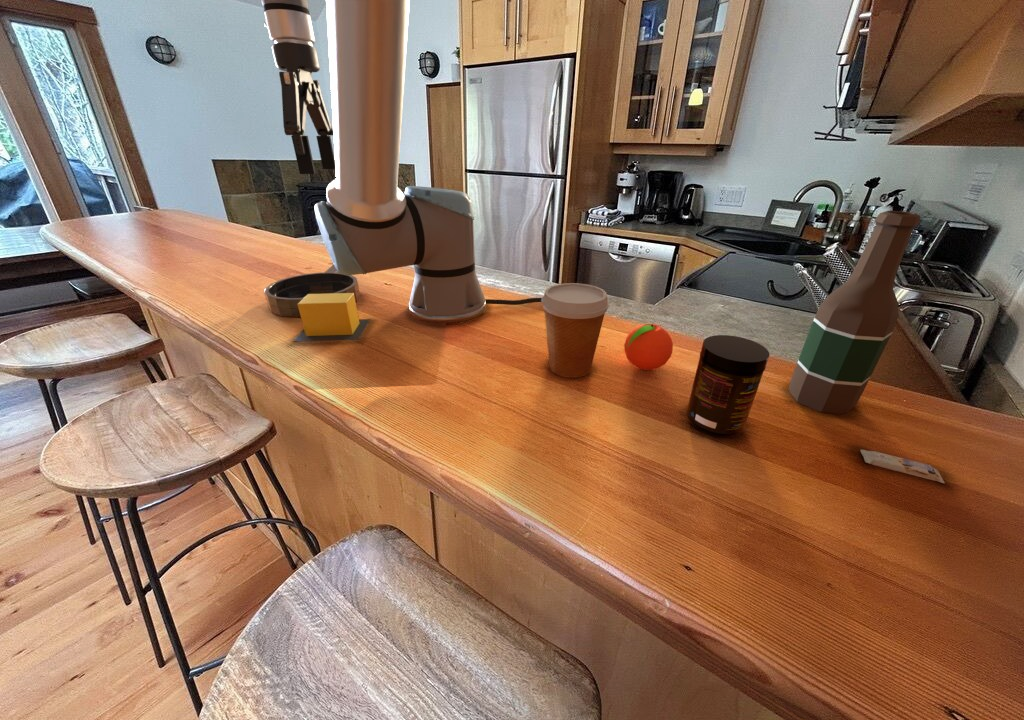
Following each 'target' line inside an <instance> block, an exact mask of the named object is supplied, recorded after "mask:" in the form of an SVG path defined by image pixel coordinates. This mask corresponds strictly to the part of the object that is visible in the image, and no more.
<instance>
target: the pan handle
mask: <svg viewBox="0 0 1024 720" xmlns="http://www.w3.org/2000/svg"><path fill="white" fill-rule="evenodd" d="M324 272H335V273H340V272H339V271H338V270H337V269H336V268H335V266H334V264H333V263H332V265H331V266H330V267H329V268H327V270H326V271H324Z"/></svg>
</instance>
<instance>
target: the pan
mask: <svg viewBox="0 0 1024 720" xmlns="http://www.w3.org/2000/svg"><path fill="white" fill-rule="evenodd" d="M359 287H360V286H359V283H358V278H357V277H356V276H355V275H344V274H342V273H335V272H325V271H324V272H313V273H304V274H298V275H292V276H289V277H286V278H282V279H279V280H276V281H274V282H272V283H270V284H268V286H266V287H265V288H264V290H263V294H264V297H265V301H266V304H267V308H268V310H269V311H270V313H272V314H274V315H277V316H279V317H286V318H287V317H288V318H301V315H300V312H299V308H298V303H299V302H300V301H301V300H302V299H303V298H304V297H305V296H307V295H308V294H329V293H354V297H355V302H356V304H357V303H358V302H359V300H360V299H361V293H360V288H359Z"/></svg>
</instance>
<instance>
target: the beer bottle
mask: <svg viewBox="0 0 1024 720" xmlns="http://www.w3.org/2000/svg"><path fill="white" fill-rule="evenodd" d="M920 220H921V215H920V214H918V213H915V212H911V211H902V210H886V211H883V212H879V213H878V215H877V216H876V217H875V219H874V220H873V222H874V223H875V224H876V225H875V226H874V228H873V231H872V232H871V234H870V237H869V239H868V241H867V243H866V244H865V247H864V249H863V251H862V253H861V255H860V257H859V259H858V261H857V263H856V266H855V267H854V269H853V271H852V272H851V274H850V276H849V277H848V279H847V280H846V282H844V283H842V285H840V286H838V288H836V289H834V290H833V291H832V292H831V293H830V294H829V295H828V296H827V297H826V298H825V299H824V300H823V301H822V302H821V303H820V305H819V306H818V309H817V311H816V312H815V315H814V317H813V320H812V323H811V325H810V328H809V331H808V333H807V336H806V338H805V341H804V344H803V347H802V348H801V351H800V354H799V357H798V359H797V362H796V364H795V367H794V369H793V373H792V375H791V378H790V382H789V385H788V392H789V393H790V395H791V396H792V398H794V400H795V401H796V403H798V404H801V405H803V406H806V407H808V408H810V409H812V410H814V411H816V412H819V413H824V414H837V415H845V414H847V413H849V411H851V410H852V409H853V408H854V407H855V406H856V405H857V404H858V402H859V400H860V399H861V397H862V395H863V393H864V391H865V390H866V387H867V385H868V383H869V381H870V379H871V377H872V375H873V373H874V370H875V369H876V367H877V365H878V363H879V360H880V359H881V356H882V355H883V352H884V351H885V349H886V346H887V344H888V342H889V340H890V338H891V336H892V334H893V332H894V329H895V327H896V324H897V323H898V322H897V321H898V318H899V300H898V298H897V296H896V293H895V290H894V287H895V286H894V285H895V280H896V277H897V273H898V270H899V267H900V265H901V263H902V260H903V257H904V255H905V251H906V249H907V247H908V243H909V241H910V238H911V236H912V233H913V231H914V228H915V227H917V226H919V225H920V222H921V221H920Z"/></svg>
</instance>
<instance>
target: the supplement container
mask: <svg viewBox="0 0 1024 720" xmlns="http://www.w3.org/2000/svg"><path fill="white" fill-rule="evenodd" d="M701 345H702V346H701V349H700V352H699V357H698V358H699V359H698V363H697V367H696V371H695V375H694V379H693V383H692V386H691V389H690V395H689V399H688V404H687V407H686V411H685V416H686V418H687V420H688V422H689V423H690V425H691V426H692V427H693V428H695V430H698V431H699V432H701V433H703V434H705V435H708V436H711V437H716V438H720V439H721V438H723V439H725V438H733V437H736V436H738V435H740V434H741V433H742V432H743V431H744V430H745V428H746V426H747V425H746V424H747V423H748V419H749V416H750V413H751V410H752V407H753V405H754V401H755V399H756V395H757V393H758V390H759V386H760V383H761V381H762V377H763V375H764V372H765V370H766V367H767V364H768V361H769V358H770V355H771V354H770V351H769V350H768V349H767V348H766V347H765V346H763V345H762V344H761V343H758V342H757V341H754V340H752V339H748V338H745V337H741V336H736V335H728V334H717V335H715V334H714V335H711V336H707V337H705V338H704V339H703V341H702V344H701Z"/></svg>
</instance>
